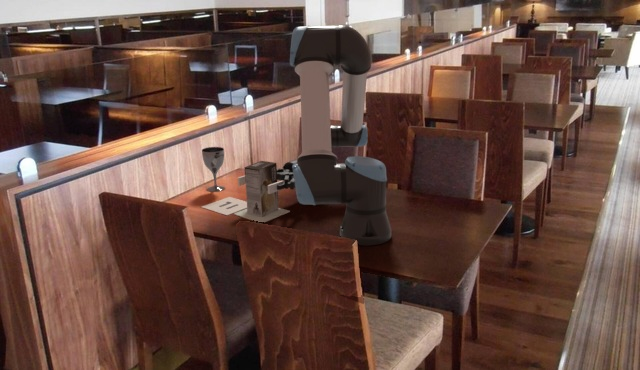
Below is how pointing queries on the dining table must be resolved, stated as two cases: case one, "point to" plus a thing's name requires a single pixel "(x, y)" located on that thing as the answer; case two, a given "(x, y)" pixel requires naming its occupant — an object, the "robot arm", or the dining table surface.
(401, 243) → the dining table surface
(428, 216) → the dining table surface
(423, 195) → the dining table surface
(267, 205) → the coffee box
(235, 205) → the tile
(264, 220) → the set down mat
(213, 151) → the wine glass
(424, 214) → the dining table surface
